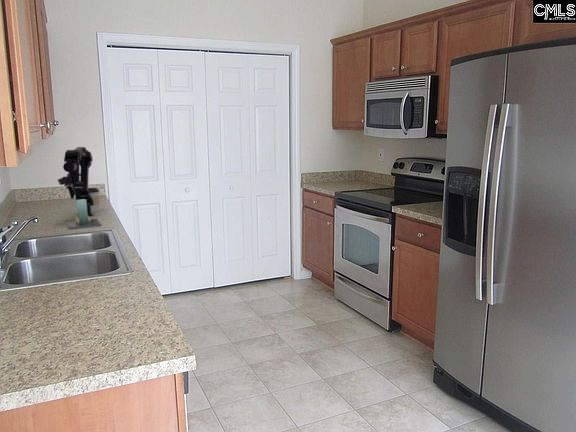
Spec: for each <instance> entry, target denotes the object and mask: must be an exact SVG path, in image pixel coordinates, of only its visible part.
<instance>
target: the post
mask: <svg viewBox="0 0 576 432" xmlns="http://www.w3.org/2000/svg"><path fill="white" fill-rule="evenodd" d="M75 202H77V203H76V210H77V211H76V212H77V217H78V219H79V221H80V224H86V223H88V213H87V203H86V199H80V200H76V199H75Z"/></svg>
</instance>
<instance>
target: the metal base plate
mask: <svg viewBox="0 0 576 432" xmlns="http://www.w3.org/2000/svg"><path fill="white" fill-rule="evenodd" d="M66 225H67V228H68V227H69V228H68V229H69V230H70V229H71V230H76V229H75V228H79V229H85V228H84V227H88V228H94V226H96V227H101V226H102V223H101V221H99V220H98V219H97V218H93V219H92V218H91V217H90V216H88V223H86V224H80V221H79V219H78V216H76V217H75V220H72V221H66Z"/></svg>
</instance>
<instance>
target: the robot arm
mask: <svg viewBox="0 0 576 432" xmlns="http://www.w3.org/2000/svg"><path fill="white" fill-rule="evenodd" d="M63 162H64V164H63V165H62V168H63V170H64V171H65V172H67V174H66V176H63V177H61V178H58V179H57V182H58V184H59V185H60V186H63V187H65V188H66V189H67V190H68V193H69V196H70V199H71V200H73V199H74V198H75V202H76V200H80V199H86V203H87V213H88V216H89V217H91V216H93V212H91V206H92V205H94V202H93V199H92V197H91V194H90V193H89V191H88V188H89V174H90V173H89V172H90V171H89V170H90V167H91V166H92V162H93V155H92V152H90V151H89V150H88V149H87V148H86V147H85V146H78V147H76V148H74V149H66V150H65V152H64V157H63ZM89 203H90V204H89ZM76 204H77V202H76Z"/></svg>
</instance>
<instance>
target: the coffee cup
mask: <svg viewBox="0 0 576 432" xmlns="http://www.w3.org/2000/svg"><path fill="white" fill-rule="evenodd" d="M88 191H89V193H90V194H91V197H92V199H93V202H94V205H92V206H91V213H96V212H99V211H100V191H99V188H97V187H88ZM89 204H90V203H89Z"/></svg>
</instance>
